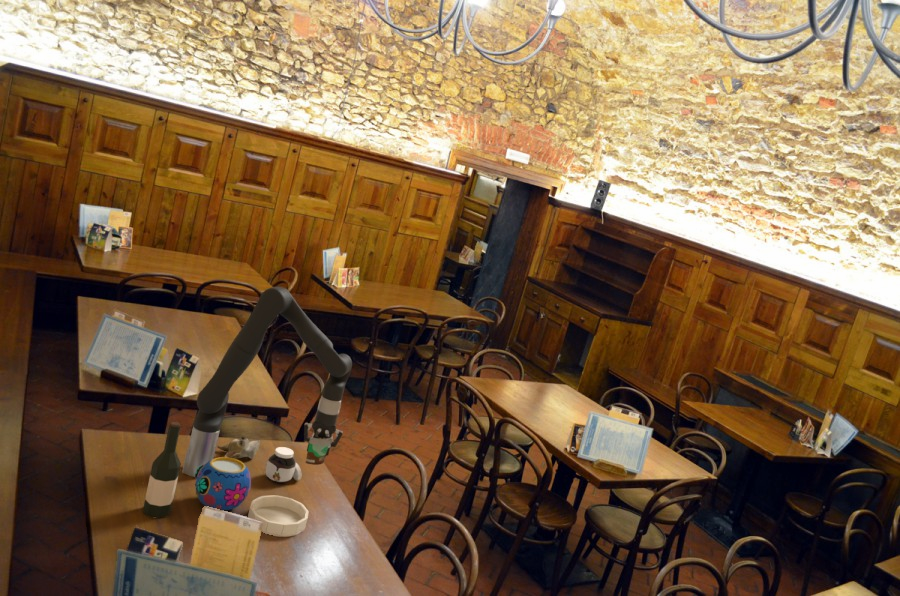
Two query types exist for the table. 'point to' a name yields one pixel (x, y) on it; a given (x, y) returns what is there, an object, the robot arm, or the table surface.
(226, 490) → the ceramic pot
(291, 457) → the spread jar
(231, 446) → the ceramic sculpture
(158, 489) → the wine bottle
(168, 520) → the table surface
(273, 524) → the bowl
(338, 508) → the table surface
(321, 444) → the food container
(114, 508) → the table surface
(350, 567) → the table surface
